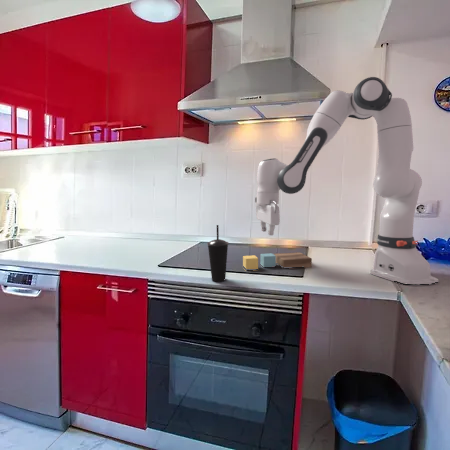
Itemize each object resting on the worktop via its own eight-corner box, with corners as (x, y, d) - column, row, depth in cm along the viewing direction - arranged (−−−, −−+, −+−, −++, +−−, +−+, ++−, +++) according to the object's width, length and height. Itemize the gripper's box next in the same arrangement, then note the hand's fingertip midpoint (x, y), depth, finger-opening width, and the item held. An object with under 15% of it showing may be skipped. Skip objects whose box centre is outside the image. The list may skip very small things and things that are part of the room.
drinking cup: (206, 283, 111) (205, 226, 109) (209, 277, 119) (207, 223, 116) (228, 283, 111) (227, 226, 108) (229, 276, 119) (228, 223, 116)
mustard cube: (258, 270, 127) (258, 258, 127) (245, 271, 126) (245, 258, 126) (254, 267, 132) (254, 255, 131) (243, 267, 131) (242, 256, 131)
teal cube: (275, 267, 131) (275, 255, 130) (263, 268, 130) (263, 256, 129) (271, 264, 135) (271, 253, 135) (260, 265, 135) (260, 253, 134)
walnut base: (311, 267, 131) (311, 258, 130) (283, 269, 129) (283, 260, 128) (299, 261, 142) (299, 252, 142) (273, 262, 140) (273, 253, 140)
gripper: (284, 201, 119) (283, 237, 121) (267, 197, 139) (267, 229, 141) (268, 201, 118) (267, 238, 120) (253, 198, 138) (253, 229, 140)
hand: (267, 233), depth 131 cm, fingers open, 8 cm apart
